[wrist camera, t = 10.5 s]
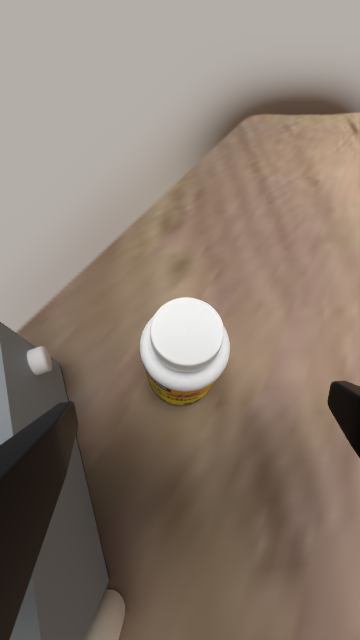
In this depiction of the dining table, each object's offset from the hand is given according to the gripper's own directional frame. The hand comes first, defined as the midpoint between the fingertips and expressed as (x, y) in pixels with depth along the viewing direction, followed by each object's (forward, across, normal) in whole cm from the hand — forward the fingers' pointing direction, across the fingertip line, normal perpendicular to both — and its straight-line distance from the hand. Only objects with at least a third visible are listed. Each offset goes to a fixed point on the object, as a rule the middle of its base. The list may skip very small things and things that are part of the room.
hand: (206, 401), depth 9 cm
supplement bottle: (+13, 0, +7) cm, 14 cm away
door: (+8, +9, +11) cm, 16 cm away
